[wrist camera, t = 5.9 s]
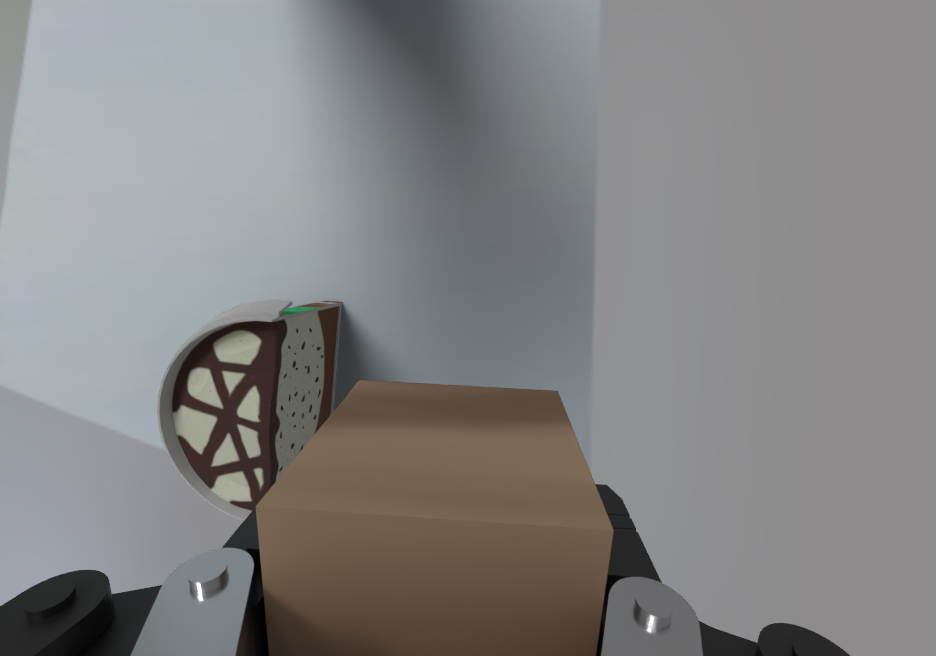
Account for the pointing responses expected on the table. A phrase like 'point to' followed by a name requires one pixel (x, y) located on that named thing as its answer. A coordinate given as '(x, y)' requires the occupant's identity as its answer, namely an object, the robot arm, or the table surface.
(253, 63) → the table surface
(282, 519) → the walnut cube
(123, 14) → the table surface
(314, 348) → the food container
